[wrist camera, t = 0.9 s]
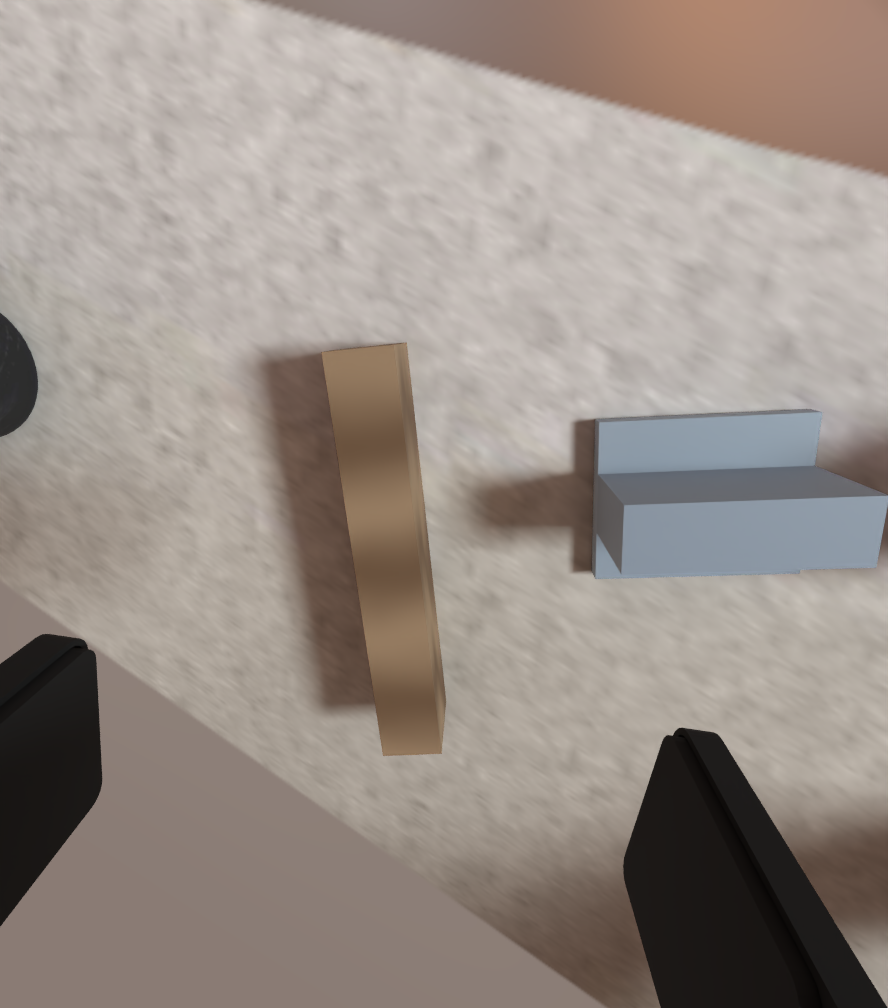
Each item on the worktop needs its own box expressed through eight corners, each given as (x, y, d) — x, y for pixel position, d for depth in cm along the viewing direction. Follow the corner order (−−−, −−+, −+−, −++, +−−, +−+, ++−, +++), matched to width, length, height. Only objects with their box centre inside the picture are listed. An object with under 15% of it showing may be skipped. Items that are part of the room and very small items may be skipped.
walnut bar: (446, 698, 33) (441, 753, 29) (395, 700, 33) (383, 755, 29) (407, 342, 27) (393, 344, 23) (345, 348, 27) (321, 352, 23)
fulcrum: (789, 565, 29) (866, 623, 23) (591, 571, 30) (619, 628, 24) (810, 408, 27) (901, 430, 21) (595, 419, 27) (626, 443, 22)
